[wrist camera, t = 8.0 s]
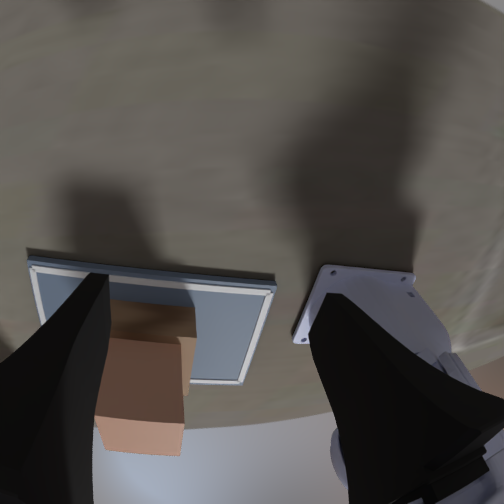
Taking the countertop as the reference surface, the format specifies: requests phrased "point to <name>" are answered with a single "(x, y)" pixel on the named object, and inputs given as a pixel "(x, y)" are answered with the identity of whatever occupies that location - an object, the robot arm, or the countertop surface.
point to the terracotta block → (141, 398)
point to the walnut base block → (157, 328)
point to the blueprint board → (176, 294)
